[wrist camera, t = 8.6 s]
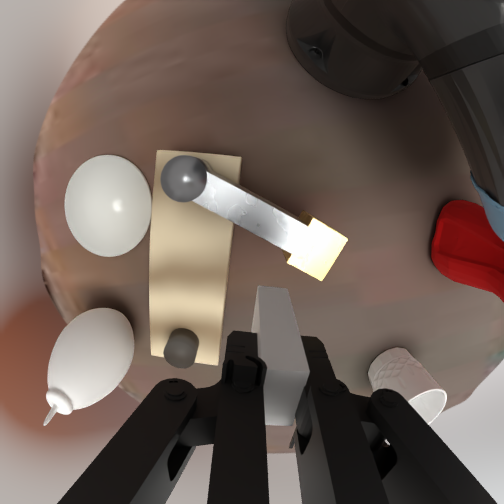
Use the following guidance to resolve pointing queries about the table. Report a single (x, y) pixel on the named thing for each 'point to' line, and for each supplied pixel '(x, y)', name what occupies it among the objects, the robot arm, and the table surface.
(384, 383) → the white cup
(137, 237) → the white round disc
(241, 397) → the robot arm
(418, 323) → the table surface
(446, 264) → the red lumpy piece
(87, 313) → the sauce bottle
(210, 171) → the lever
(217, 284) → the beige long block
